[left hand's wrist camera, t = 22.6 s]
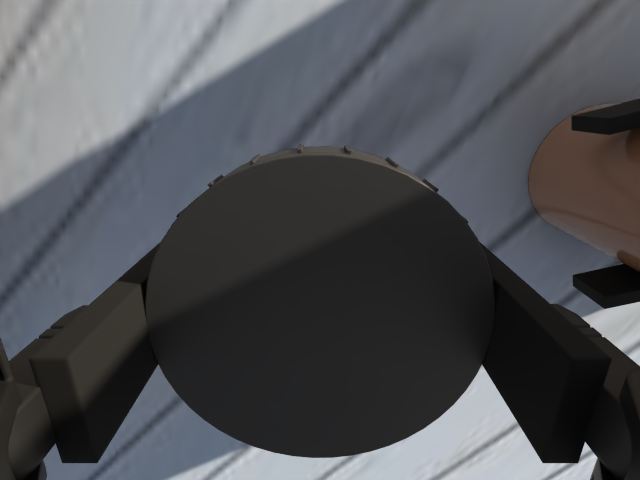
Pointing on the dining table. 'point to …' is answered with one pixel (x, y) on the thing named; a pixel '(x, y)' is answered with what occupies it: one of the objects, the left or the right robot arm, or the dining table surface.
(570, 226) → the jar
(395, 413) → the lid
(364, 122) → the dining table surface
